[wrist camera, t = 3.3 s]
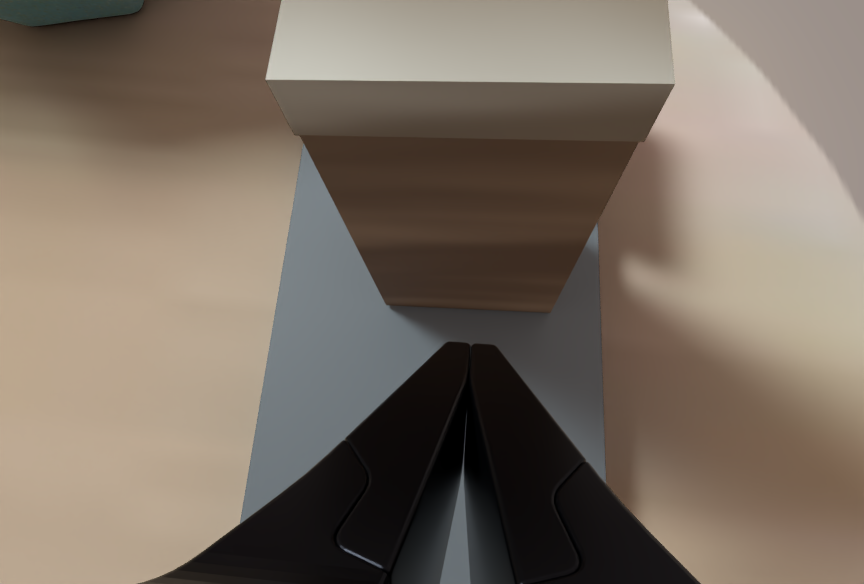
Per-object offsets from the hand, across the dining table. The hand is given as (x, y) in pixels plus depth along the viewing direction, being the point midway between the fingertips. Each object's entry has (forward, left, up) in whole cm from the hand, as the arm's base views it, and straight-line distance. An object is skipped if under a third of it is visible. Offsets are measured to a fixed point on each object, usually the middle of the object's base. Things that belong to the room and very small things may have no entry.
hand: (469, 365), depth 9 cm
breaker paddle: (+4, 0, -6) cm, 8 cm away
